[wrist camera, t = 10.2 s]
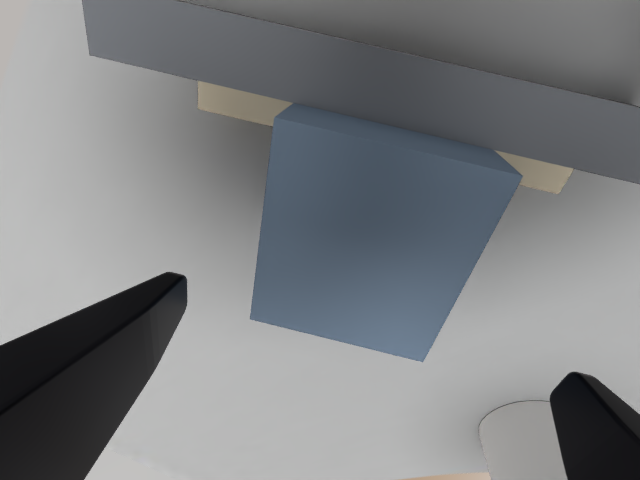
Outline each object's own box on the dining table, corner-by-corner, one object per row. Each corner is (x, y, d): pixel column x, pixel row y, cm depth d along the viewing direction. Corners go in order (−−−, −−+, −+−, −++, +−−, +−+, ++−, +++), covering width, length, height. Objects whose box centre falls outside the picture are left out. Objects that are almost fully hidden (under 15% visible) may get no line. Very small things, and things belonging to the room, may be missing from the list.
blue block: (456, 117, 15) (523, 175, 9) (400, 260, 20) (414, 377, 13) (318, 84, 16) (273, 117, 9) (291, 234, 20) (248, 336, 13)
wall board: (633, 105, 14) (762, 135, 9) (580, 188, 16) (665, 247, 11) (174, -1, 15) (78, -22, 10) (176, 92, 17) (97, 112, 12)
